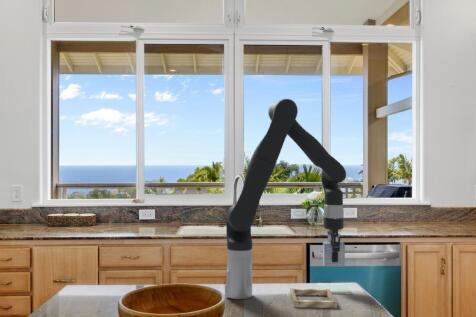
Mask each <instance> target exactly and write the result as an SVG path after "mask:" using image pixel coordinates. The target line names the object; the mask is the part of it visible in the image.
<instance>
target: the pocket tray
mask: <svg viewBox="0 0 476 317" xmlns="http://www.w3.org/2000/svg"><path fill="white" fill-rule="evenodd" d="M289 293H290V298H291V301H292V305H293V308H307V309H308V308H311V309H312V308H313V309H316V308H317V309H338V301H337V299H336V298H335V296H334V294H332V293H331V291H330V289H319V288H290V292H289ZM316 295H319V297H320V296H321V297H323V296H324V297H325V296H326V297H327V298H328V300H315V299H314V300H312V299H311V300H309V299H308V300H307V299H306V300H305V299H304V300H303V299H298V298H297V296H316Z"/></svg>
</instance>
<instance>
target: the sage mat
mask: <svg viewBox="0 0 476 317" xmlns="http://www.w3.org/2000/svg"><path fill="white" fill-rule="evenodd" d="M316 284H317V288H318V287H319V288H318V289H330V291H331V293H332V294H333V295H352V291H351V289H350V288H349V287H348V286H347V284H346V283H333V282H331V283H329V282H317V283H316Z"/></svg>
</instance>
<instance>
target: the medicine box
mask: <svg viewBox="0 0 476 317" xmlns="http://www.w3.org/2000/svg"><path fill="white" fill-rule="evenodd" d="M332 244H333V243H332ZM335 248H337V246H335ZM331 250H332V247H331V246H330V242H328V241H323V242H322V264H323V266H324V267H346V245H345V243H344V242H343V241H340V252H338V262H332V251H331Z"/></svg>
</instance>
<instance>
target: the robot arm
mask: <svg viewBox="0 0 476 317" xmlns="http://www.w3.org/2000/svg"><path fill="white" fill-rule="evenodd" d="M298 112H299V111H298V105H297V104H296V102H295V101H294V100H292V99H290V98H284V99H283V98H282V99H279V100H276V101H274V102H272V103H271V104H270V106H269V108H268V112H267V113H268V117H269V119H270V121H271V122H270V123H269V127H268V128H267V131H266V133H265V134H264V136H263V138H262V139H261V140H260V141H259V143H258V145H257V146H256V148H255V149H254V151H253V153H252V156H251V157H250V160H249V162H248V165H247V169H246V173H245V176H244V182H243V186H242V190H241V193H240V194H239V197H238V199H237V200H236V203H235V204H233V205H232V206H230V207H229V209H228V210H227V212H226V217H225V218H226V221H225V223H226V246H227V247H226V256H227V257H226V286H225V287H226V288H225V289H226V293H225V294H226V295H225V296H226V298H227V299H228V298H229V299H233V300H246V299H250V298H252V296H253V239H252V229H251V228H252V226H253V224H254V220H255V219H256V218H255V217H256V214H257V210H258V207H259V203H260V201H261V199H262V196H263V195H264V192H265V190H266V188H267V185H268V183H269V182H270V178H271V177H272V175H273V172H274V171H275V170H274V169H275V167H276V164H277V162H278V159H279V157H280V154H281V151H282V149H283V145H284V143H285V141H286V138H287V136H288V137H289V138H290V139H291V140H292V141H293V142H294V143H295V144H296V145H297V146H298V147H299V148H300V150H301V151H302V153H304V154H305V155H306V157H307V158H308V159H309V161H310V162H311V163H312V164H313V165H314V166H316V168H317V167H318V168H320V169H321V174H320V175H321V176H320V177H321V184H322V185H321V186H322V189H323V192H324V199H323V200H324V206H323V229H326V230H328V231H327V234H326V235H327V242H330V246H331V247H332V250H331V251H332V262H338V252H340V242H341V238H342V237H341V234H340V233H339V230H343V229H344V228H345V227H344V225H345V224H344V222H345V221H344V218H345V216H344V215H345V214H344V211H345V210H344V194H343V191H342V189H340V188H339V184H340V183H343V182H344V181H345V180H346V178H347V171H346V169H345V167H344V166H343V165H342V164H341V163H340V162H339V161H338V160H337V159H336V158H335V157H334V156H332V155H331V154H330V153H329V152H328V151H327V149H325V146H323V145H322V143H321V142H319V140H318V139H316V137H314V136H313V135H312V134H311V133H310V132H308V131H307V130H306V129H305V128H304V127H303V126H302V125H301V124H300V123H299V122H298V120H297V118H298V117H297V116H298ZM332 243H333V244H332ZM335 246H337V248H335Z"/></svg>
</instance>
